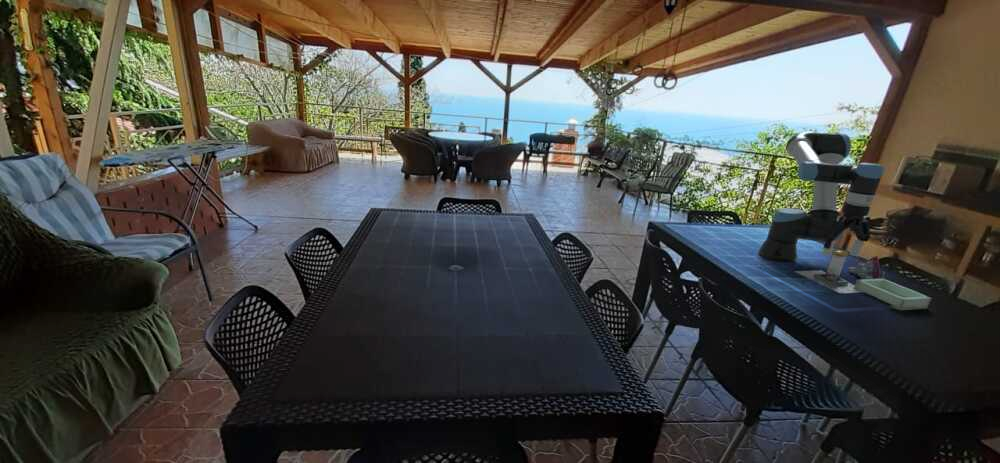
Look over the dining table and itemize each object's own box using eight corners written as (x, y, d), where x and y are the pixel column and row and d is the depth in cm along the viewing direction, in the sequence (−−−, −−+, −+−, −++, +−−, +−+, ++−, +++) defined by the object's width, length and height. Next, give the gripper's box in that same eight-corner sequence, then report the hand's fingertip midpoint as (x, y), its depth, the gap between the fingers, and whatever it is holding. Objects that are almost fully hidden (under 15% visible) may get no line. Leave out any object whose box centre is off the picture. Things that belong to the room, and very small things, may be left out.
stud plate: (793, 273, 167) (795, 268, 167) (820, 272, 170) (822, 267, 169) (839, 295, 149) (841, 289, 148) (868, 294, 151) (871, 288, 151)
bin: (853, 289, 155) (856, 279, 153) (879, 288, 157) (883, 278, 156) (898, 310, 140) (902, 299, 138) (926, 308, 142) (931, 298, 141)
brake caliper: (897, 283, 157) (885, 258, 155) (866, 294, 161) (853, 270, 160) (879, 271, 167) (867, 249, 166) (850, 282, 171) (838, 260, 170)
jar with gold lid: (819, 278, 161) (829, 249, 157) (829, 278, 162) (839, 249, 158) (830, 283, 156) (841, 254, 152) (840, 283, 157) (851, 253, 153)
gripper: (840, 206, 143) (822, 259, 149) (894, 206, 147) (875, 258, 154) (821, 201, 150) (804, 252, 156) (873, 202, 154) (855, 251, 161)
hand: (839, 255), depth 155 cm, fingers open, 13 cm apart
